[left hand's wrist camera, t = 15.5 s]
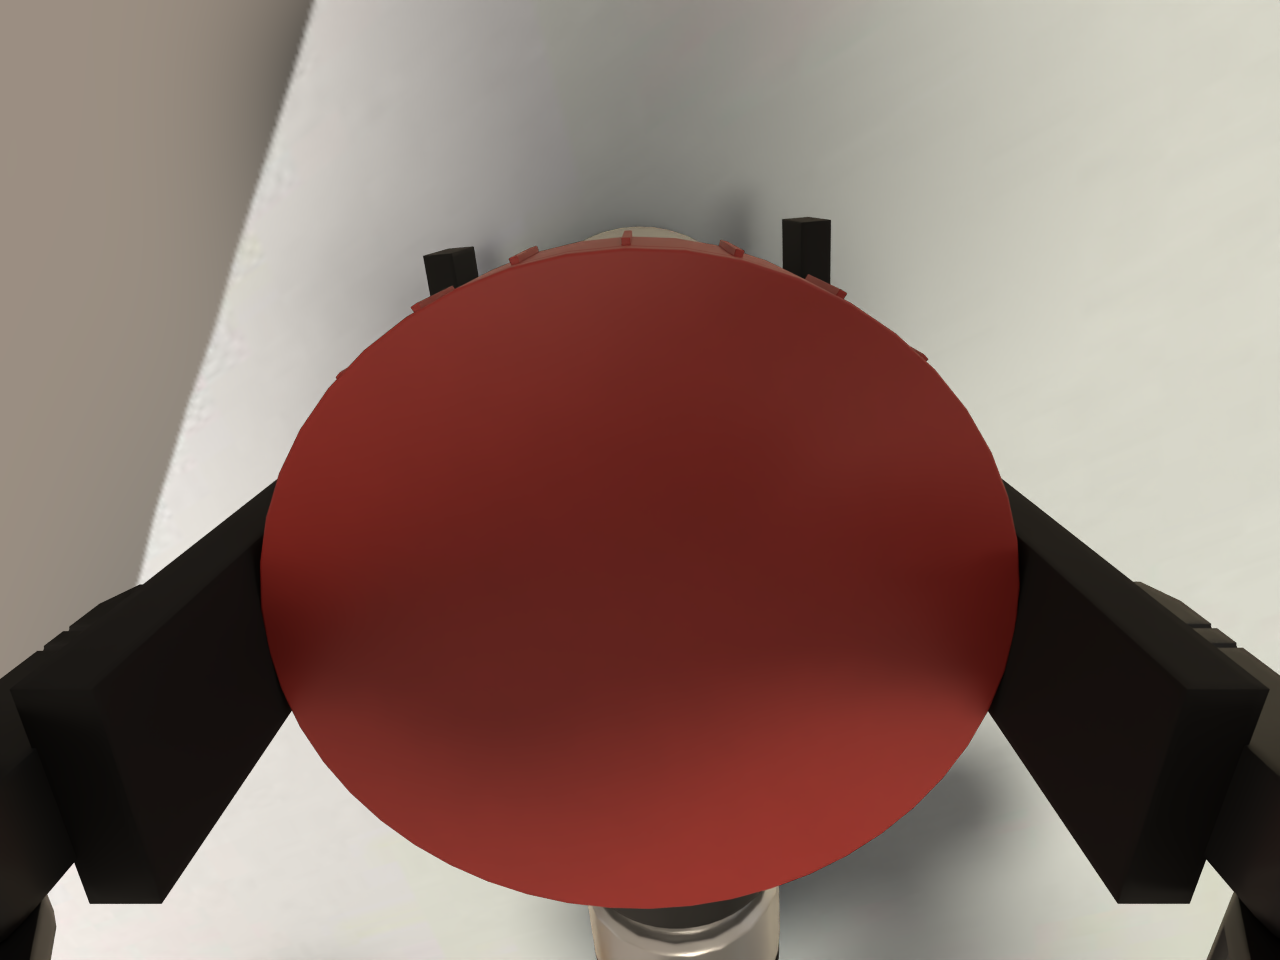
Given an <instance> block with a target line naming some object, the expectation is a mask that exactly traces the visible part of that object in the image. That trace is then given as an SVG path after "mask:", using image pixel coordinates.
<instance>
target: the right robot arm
mask: <svg viewBox="0 0 1280 960" xmlns="http://www.w3.org/2000/svg"><path fill="white" fill-rule="evenodd" d="M782 238H783V269H785V270H787V271H789V272H791V273H793V274H795V275H797V276H799V277H801V278H803V279H805V278H806V277H807V275H808V274H809V275H811V276H813V277H816V278H818V279H820V280H822V281H824V282H826V283H828V284H830V252H831V220H827V219H819V218H812V217H803V218H791V219H782ZM423 258H424V264H425V269H426V274H427V280H428V285H429V291H430V296H432V295H434V294H436V293H438V292H440V291H442V290H445V289H447V288H449V287H451V286H453V287H454V288H455V289H456V288H458V287H460V286H462V285H464V284H466V283H468V282H470V281H472V280H474V279H475V278H477V277H478V271H477V264H476V258H475V252H474V247H463V248H452V249H446V250H442V251H439V252H435V253H432V254H428V255H425V256H423ZM588 909H589V915H590V921H591V927H592V933H593V939H594V946H595V953H596V957H597V960H778V959H779V933H780V917H779V886H777V887H774V888H771V889H768V890H764V891H760V892H756V893H753V894H749V895H745V896H741V897H738V898H734V899H729V900H723V901H717V902H711V903H705V904H699V905H693V906H682V907H668V908H654V909H638V908H606V907H598V906H589V905H588Z"/></svg>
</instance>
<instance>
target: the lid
mask: <svg viewBox="0 0 1280 960" xmlns="http://www.w3.org/2000/svg"><path fill="white" fill-rule="evenodd" d="M509 261H510V263H508V264H506V265H503V266H501V267H498V268H496V269H493V270H491V271H489V272H487V273H485V274H483V275H481V276H479V277H477V278H475V279H474V280H472V281H470V282H468V283H466V284H464V285H462V286H460V287H458V288H456V289H455V288H454V287H453V286H451V287H449V288H447V289H445V290H442V291H440V292H438V293H436V294H434V295H432V296H430V297H428V298H426V299H424V300H422V301H420V302H418V303H416V304H415V305H413V306H412V307H411V309H412V310H413V312H414V313H412V314H411V315H409V316H407V317H406V318H404V319H403V320H402V321H401V322H399V323H398V324H397V325H395V326H394V327H393V328H392V329H390V330H389V331H388V332H387V333H385V334H384V335H383V336H382V337H380V338H379V339H378V340H376V341H375V342H374V343H373V344H371V345H370V346H369V347H368V348H366V349H365V350H364V351H363V352H362V353H361V354H360V355H359V356H358V357H357V358H356V359H355V360H354V361H353V363H352V364H351V365H350V366H349V367H348V368H346V369H344V370H343V371H341V372H340V373H339V374H338V375H337V376H336V379H337V380H336V381H335V382H334V383H333V384H332V385H331V386H330V387H329V388H328V389H327V391H326V392H325V394H324V395H323V397H322V398H321V400H320V401H319V403H318V404H317V406H316V407H315V408H314V410H313V411H312V413H311V414H310V416H309V417H308V419H307V420H306V422H305V423H304V425H303V426H302V427H301V429H300V431H299V433H298V435H297V437H296V439H295V441H294V443H293V445H292V447H291V450H290V452H289V454H288V456H287V458H286V460H285V462H284V464H283V466H282V468H281V471H280V473H279V476H278V479H277V482H276V486H275V489H274V493H273V496H272V499H271V503H270V506H269V509H268V513H267V516H266V522H265V530H264V537H263V545H262V552H261V560H260V583H261V610H262V616H263V621H264V626H265V631H266V636H267V641H268V645H269V650H270V654H271V658H272V662H273V665H274V668H275V671H276V674H277V677H278V680H279V683H280V686H281V689H282V691H283V693H284V695H285V697H286V699H287V701H288V703H289V705H290V707H291V710H292V712H293V714H294V716H295V718H296V720H297V722H298V724H299V726H300V728H301V729H302V731H303V732H304V734H305V735H306V737H307V738H308V740H309V741H310V743H311V744H312V746H313V747H314V749H315V750H316V752H317V753H318V755H319V756H320V757H321V759H322V760H323V762H324V763H325V764H326V765H327V767H328V768H329V769H330V770H331V771H332V772H333V773H334V775H335V776H336V777H337V778H338V779H339V780H340V781H341V783H342V784H343V785H344V786H345V787H346V788H347V790H348V791H349V792H350V793H351V794H352V795H353V796H354V797H356V798H357V799H358V800H359V801H360V802H361V803H362V804H363V805H364V806H365V807H367V808H368V809H369V810H370V811H371V812H372V813H373V814H374V815H375V816H376V817H378V818H379V819H380V820H381V821H382V822H384V823H385V824H386V825H388V826H389V827H391V828H392V829H393V830H395V831H396V832H398V833H399V834H400V835H402V836H403V837H404V838H406V839H407V840H409V841H410V842H411V843H413V844H414V845H416V846H418V847H419V848H421V849H423V850H425V851H427V852H428V853H430V854H432V855H434V856H435V857H437V858H439V859H441V860H442V861H444V862H446V863H448V864H449V865H452V866H454V867H456V868H458V869H461V870H463V871H465V872H468V873H470V874H472V875H474V876H477V877H479V878H481V879H484V880H486V881H488V882H491V883H494V884H497V885H501V886H504V887H507V888H510V889H513V890H516V891H519V892H522V893H525V894H529V895H534V896H538V897H543V898H547V899H552V900H557V901H561V902H566V903H573V904H581V905H589V906H598V907H606V908H638V909H654V908H668V907H682V906H693V905H699V904H705V903H711V902H717V901H723V900H729V899H734V898H738V897H741V896H745V895H749V894H753V893H756V892H760V891H764V890H768V889H771V888H774V887H777V886H779V885H782V884H785V883H787V882H790V881H793V880H795V879H798V878H801V877H803V876H806V875H808V874H811V873H813V872H815V871H817V870H819V869H821V868H823V867H825V866H827V865H829V864H831V863H833V862H835V861H837V860H839V859H841V858H843V857H845V856H847V855H849V854H850V853H852V852H853V851H855V850H856V849H858V848H860V847H861V846H863V845H864V844H866V843H867V842H869V841H871V840H872V839H874V838H875V837H877V836H878V835H880V834H882V833H883V832H884V831H885V830H887V829H888V828H889V827H890V826H892V825H893V824H894V823H895V822H896V821H898V820H899V819H900V818H901V817H903V816H904V815H905V814H906V813H908V812H909V811H910V810H911V809H913V808H914V807H915V806H916V805H917V804H918V803H919V802H920V801H921V800H922V799H923V798H924V797H925V796H926V795H927V794H928V793H929V792H930V791H931V790H932V789H933V788H934V787H935V786H936V784H937V783H938V782H939V781H940V780H941V779H942V778H943V777H944V776H945V775H946V773H947V772H948V771H949V769H950V768H951V767H952V765H953V764H954V763H955V762H956V760H957V759H958V758H959V756H960V755H961V754H962V752H963V751H964V750H965V749H966V747H967V746H968V744H969V743H970V741H971V739H972V738H973V736H974V734H975V732H976V731H977V729H978V727H979V726H980V724H981V722H982V720H983V719H984V717H985V715H986V713H987V712H988V710H989V708H990V705H991V703H992V701H993V698H994V696H995V693H996V691H997V689H998V686H999V684H1000V681H1001V679H1002V676H1003V674H1004V672H1005V668H1006V664H1007V660H1008V656H1009V651H1010V647H1011V642H1012V638H1013V633H1014V629H1015V624H1016V618H1017V609H1018V599H1019V589H1020V581H1019V561H1018V542H1017V536H1016V532H1015V527H1014V522H1013V517H1012V513H1011V508H1010V503H1009V498H1008V495H1007V492H1006V489H1005V487H1004V484H1003V482H1002V479H1001V476H1000V474H999V471H998V468H997V466H996V463H995V461H994V458H993V455H992V453H991V451H990V449H989V447H988V445H987V444H986V442H985V440H984V438H983V437H982V435H981V433H980V431H979V430H978V428H977V426H976V424H975V423H974V421H973V419H972V417H971V416H970V414H969V412H968V411H967V409H966V408H965V406H964V405H963V404H962V403H961V401H960V400H959V399H958V398H957V396H956V395H955V394H954V393H953V391H952V390H951V389H950V388H949V386H948V385H947V384H946V383H945V381H944V380H943V379H942V378H941V376H940V375H939V374H938V373H937V371H936V370H935V369H934V368H933V367H932V366H931V365H929V364H928V363H927V362H926V361H927V360H928V358H927V357H926V356H925V355H924V354H923V353H921V352H919V351H917V350H916V349H914V348H912V347H910V346H909V345H908V344H907V343H906V342H905V341H903V340H902V339H901V338H900V337H899V336H898V335H897V334H896V333H894V332H893V331H891V330H890V329H888V328H887V327H886V326H884V325H883V324H881V323H880V322H878V321H877V320H875V319H874V318H872V317H871V316H869V315H868V314H866V313H865V312H863V311H862V310H861V309H859V308H858V307H856V306H855V305H853V304H852V303H850V302H848V301H846V300H844V298H845V296H846V295H847V293H846V292H844V291H843V290H841V289H839V288H837V287H835V286H832V285H830V284H828V283H826V282H824V281H822V280H820V279H818V278H816V277H813V276H811V275H809V274H808V275H807V277H806V278H805V279H803V278H801V277H799V276H797V275H795V274H793V273H791V272H789V271H787V270H785V269H783V268H781V267H778V266H776V265H774V264H772V263H770V262H768V261H766V260H763V259H760V258H757V257H754V256H751V255H748V254H745V253H744V250H742V249H740V248H738V247H737V246H735V245H733V244H731V243H729V242H727V241H723V240H720V243H719V246H718V245H712V244H706V243H701V242H695V241H689V240H684V239H678V238H659V237H632V231H631V230H629V231H624V233H623V235H622V237H618V238H608V239H598V240H588V241H580V242H576V243H572V244H568V245H564V246H560V247H556V248H552V249H548V250H544V251H539V250H538V247H537V246H535V247H532V248H529V249H527V250H525V251H523V252H521V253H519V254H517V255H515V256H513V257H511V258H509Z"/></svg>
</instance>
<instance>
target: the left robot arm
mask: <svg viewBox="0 0 1280 960" xmlns="http://www.w3.org/2000/svg"><path fill="white" fill-rule="evenodd" d="M276 482H277V480H275V481H274V482H273V483H272V484H270V485H269V486H268V487H267V488H265V489H264V490H263V491H261V492H260V493H259V494H258V495H256V496H255V497H254V498H253V499H251V500H250V501H249V502H247V503H246V504H245V505H244V506H242V507H241V508H240V509H239V510H237V511H236V512H235V513H233V514H232V515H231V516H230V517H228V518H227V519H226V520H225V521H223V522H222V523H221V524H219V525H218V526H217V527H216V528H214V529H213V530H212V531H211V532H209V533H208V534H207V535H205V536H204V537H203V538H202V539H200V540H199V541H198V542H197V543H195V544H194V545H193V546H191V547H190V548H189V549H188V550H186V551H185V552H184V553H183V554H181V555H180V556H179V557H177V558H176V559H175V560H174V561H172V562H171V563H170V564H168V565H167V566H166V567H165V568H163V569H162V570H161V571H160V572H158V573H157V574H156V575H154V576H153V577H152V578H151V579H149V580H148V581H147V582H146V583H144V584H143V585H138V586H136V587H134V588H132V589H130V590H127V591H125V592H123V593H121V594H119V595H117V596H115V597H113V598H111V599H109V600H107V601H104V602H102V603H100V604H99V605H97V606H96V607H95V608H93V609H92V610H91V611H89V612H88V613H87V614H85V615H84V616H83V617H81V618H80V619H79V620H78V621H76V622H75V623H74V624H72V625H71V626H70V627H69V631H63V632H62V633H60V634H59V635H58V636H56V637H55V638H54V639H52V640H51V641H50V642H48V643H47V644H46V645H45V646H44V650H43V651H37V652H35V653H34V654H33V655H31V656H30V657H29V658H27V659H26V660H25V661H23V662H22V663H21V664H19V665H18V666H17V667H15V668H14V669H13V670H12V671H10V672H9V673H8V674H6V675H5V676H4V677H2V678H1V679H0V960H51V955H52V949H53V943H54V937H55V931H56V922H55V915H54V910H53V908H52V905H51V903H50V900H49V898H48V895H47V894H48V893H49V891H50V890H51V889H52V888H53V887H54V886H55V884H56V883H57V882H58V881H59V880H60V878H61V877H62V876H63V875H64V874H65V873H66V871H67V870H68V869H69V868H70V867H71V865H72V864H73V863H75V866H76V868H77V871H78V874H79V876H80V879H81V882H82V884H83V887H84V890H85V892H86V895H87V898H88V900H89V903H90V904H162V902H163V901H164V900H165V898H166V897H167V895H168V894H169V892H170V891H171V889H172V888H173V886H174V885H175V883H176V882H177V880H178V879H179V877H180V876H181V874H182V873H183V871H184V870H185V868H186V867H187V865H188V864H189V862H190V861H191V859H192V858H193V856H194V855H195V854H196V852H197V851H198V849H199V848H200V846H201V845H202V843H203V842H204V840H205V839H206V837H207V836H208V834H209V833H210V831H211V830H212V828H213V827H214V825H215V824H216V822H217V821H218V819H219V818H220V816H221V815H222V813H223V812H224V810H225V809H226V808H227V806H228V805H229V803H230V802H231V800H232V799H233V797H234V796H235V794H236V793H237V791H238V790H239V788H240V787H241V785H242V784H243V782H244V781H245V779H246V778H247V776H248V775H249V773H250V772H251V770H252V769H253V767H254V766H255V764H256V763H257V762H258V760H259V759H260V757H261V756H262V754H263V753H264V751H265V750H266V748H267V747H268V745H269V744H270V742H271V741H272V739H273V738H274V736H275V735H276V733H277V732H278V730H279V729H280V727H281V726H282V724H283V723H284V721H285V720H286V718H287V717H288V716H289V714H290V713H291V711H292V710H291V707H290V705H289V703H288V701H287V699H286V697H285V695H284V693H283V691H282V689H281V686H280V683H279V680H278V677H277V674H276V671H275V668H274V665H273V662H272V658H271V654H270V650H269V645H268V641H267V636H266V631H265V626H264V621H263V616H262V610H261V583H260V560H261V552H262V545H263V537H264V530H265V522H266V516H267V513H268V509H269V506H270V503H271V499H272V496H273V493H274V489H275V486H276ZM1002 482H1003V484H1004V487H1005V489H1006V492H1007V495H1008V498H1009V503H1010V508H1011V513H1012V517H1013V522H1014V527H1015V532H1016V536H1017V542H1018V561H1019V581H1020V589H1019V599H1018V609H1017V618H1016V624H1015V629H1014V633H1013V638H1012V642H1011V647H1010V651H1009V656H1008V660H1007V664H1006V668H1005V672H1004V674H1003V676H1002V679H1001V681H1000V684H999V686H998V689H997V691H996V693H995V696H994V698H993V701H992V703H991V705H990V708H989V710H988V712H989V713H990V715H991V716H992V718H993V719H994V721H995V722H996V724H997V725H998V727H999V728H1000V730H1001V731H1002V733H1003V734H1004V736H1005V737H1006V738H1007V740H1008V741H1009V743H1010V744H1011V746H1012V747H1013V749H1014V750H1015V752H1016V753H1017V755H1018V756H1019V758H1020V759H1021V761H1022V762H1023V764H1024V765H1025V767H1026V768H1027V770H1028V771H1029V773H1030V774H1031V776H1032V777H1033V779H1034V780H1035V782H1036V783H1037V784H1038V786H1039V787H1040V789H1041V790H1042V792H1043V793H1044V795H1045V796H1046V798H1047V799H1048V801H1049V802H1050V804H1051V805H1052V807H1053V808H1054V810H1055V811H1056V813H1057V814H1058V816H1059V817H1060V819H1061V820H1062V822H1063V823H1064V825H1065V826H1066V828H1067V829H1068V830H1069V832H1070V833H1071V835H1072V836H1073V838H1074V839H1075V841H1076V842H1077V844H1078V845H1079V847H1080V848H1081V850H1082V851H1083V853H1084V854H1085V856H1086V857H1087V859H1088V860H1089V862H1090V863H1091V865H1092V866H1093V868H1094V869H1095V871H1096V872H1097V874H1098V875H1099V876H1100V878H1101V879H1102V881H1103V882H1104V884H1105V885H1106V887H1107V888H1108V890H1109V891H1110V893H1111V894H1112V896H1113V897H1114V899H1115V900H1116V902H1117V903H1118V904H1190V901H1191V899H1192V896H1193V893H1194V891H1195V888H1196V885H1197V883H1198V880H1199V877H1200V875H1201V872H1202V869H1203V867H1204V864H1205V861H1206V859H1207V861H1208V862H1209V863H1210V864H1211V865H1212V866H1213V868H1214V869H1215V870H1216V871H1217V872H1218V874H1219V875H1220V876H1221V877H1222V878H1223V879H1224V881H1225V882H1226V883H1227V884H1228V885H1229V886H1230V888H1231V889H1232V890H1233V891H1234V893H1233V895H1232V898H1231V900H1230V903H1229V905H1228V908H1227V910H1226V913H1225V915H1224V918H1223V920H1222V923H1221V925H1220V928H1219V930H1218V933H1217V935H1216V938H1215V940H1214V943H1213V945H1212V948H1211V950H1210V953H1209V955H1208V958H1207V960H1280V675H1278V674H1277V673H1276V672H1274V671H1273V670H1272V669H1271V668H1269V667H1268V666H1267V665H1265V664H1264V663H1263V662H1261V661H1260V660H1259V659H1257V658H1256V657H1255V656H1253V655H1252V654H1251V653H1249V652H1248V651H1247V650H1245V649H1244V648H1237V646H1236V642H1235V641H1233V640H1232V639H1231V638H1229V637H1228V636H1227V635H1225V634H1224V633H1223V632H1221V631H1220V630H1219V629H1217V628H1211V623H1209V622H1208V621H1207V620H1205V619H1204V618H1203V617H1201V616H1200V615H1199V614H1197V613H1196V612H1195V611H1193V610H1192V609H1191V608H1189V607H1188V606H1187V605H1185V604H1184V603H1183V602H1181V601H1180V600H1177V599H1175V598H1173V597H1171V596H1169V595H1167V594H1165V593H1163V592H1161V591H1159V590H1156V589H1154V588H1152V587H1150V586H1148V585H1146V584H1144V583H1142V582H1133V581H1131V580H1130V579H1129V578H1128V577H1126V576H1125V575H1124V574H1122V573H1121V572H1120V571H1119V570H1117V569H1116V568H1115V567H1114V566H1112V565H1111V564H1110V563H1108V562H1107V561H1106V560H1105V559H1103V558H1102V557H1101V556H1100V555H1098V554H1097V553H1096V552H1094V551H1093V550H1092V549H1091V548H1089V547H1088V546H1087V545H1086V544H1084V543H1083V542H1082V541H1080V540H1079V539H1078V538H1077V537H1075V536H1074V535H1073V534H1071V533H1070V532H1069V531H1068V530H1066V529H1065V528H1064V527H1063V526H1061V525H1060V524H1059V523H1057V522H1056V521H1055V520H1054V519H1052V518H1051V517H1050V516H1049V515H1047V514H1046V513H1045V512H1043V511H1042V510H1041V509H1040V508H1038V507H1037V506H1036V505H1035V504H1033V503H1032V502H1031V501H1029V500H1028V499H1027V498H1026V497H1024V496H1023V495H1022V494H1021V493H1019V492H1018V491H1017V490H1015V489H1014V488H1013V487H1012V486H1010V485H1009V484H1008V483H1007V482H1005V481H1004V480H1003V479H1002Z"/></svg>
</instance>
